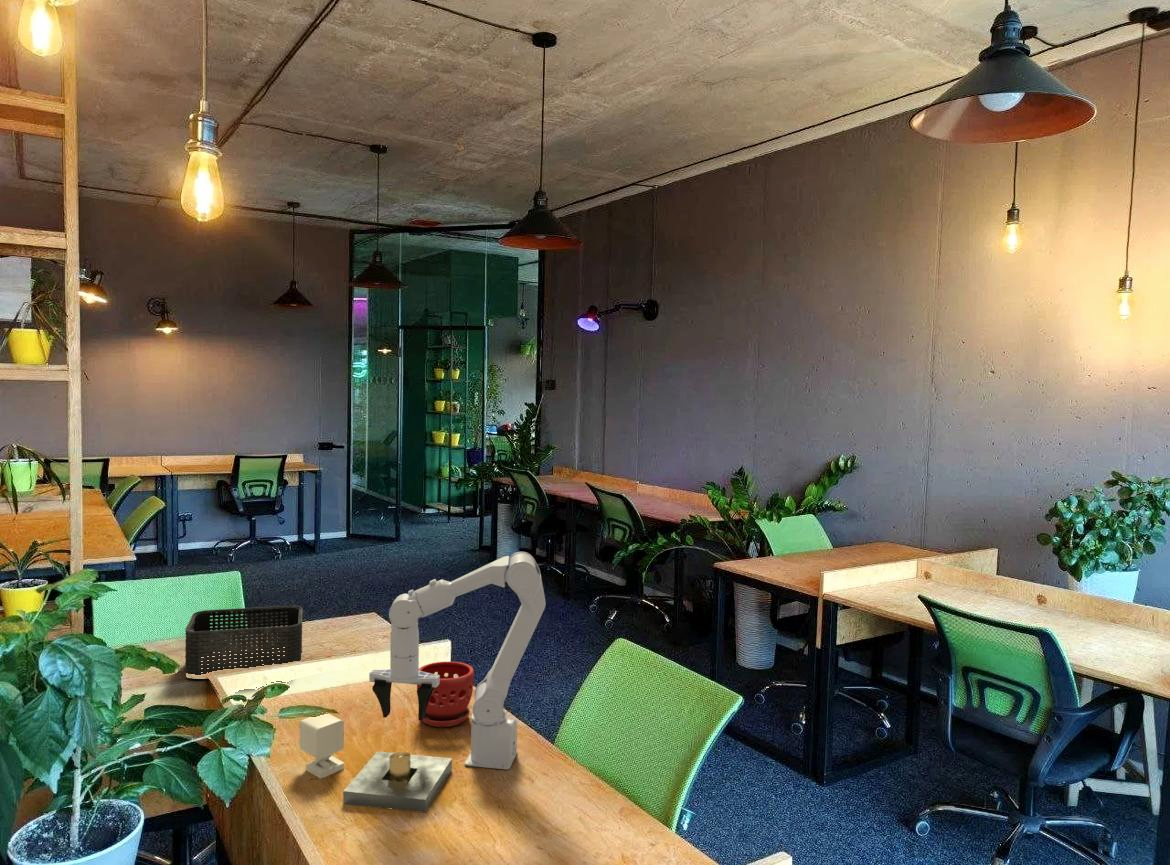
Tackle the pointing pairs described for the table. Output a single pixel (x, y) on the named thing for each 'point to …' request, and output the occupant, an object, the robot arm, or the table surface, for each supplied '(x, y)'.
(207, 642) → the storage bin
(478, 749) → the robot arm
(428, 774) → the jig plate
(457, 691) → the plant pot
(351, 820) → the table surface
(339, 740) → the security camera
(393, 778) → the cylinder
